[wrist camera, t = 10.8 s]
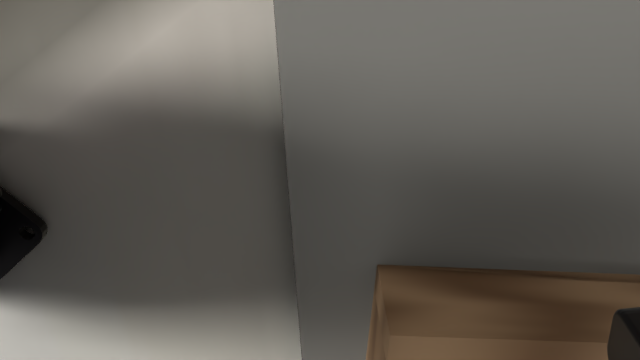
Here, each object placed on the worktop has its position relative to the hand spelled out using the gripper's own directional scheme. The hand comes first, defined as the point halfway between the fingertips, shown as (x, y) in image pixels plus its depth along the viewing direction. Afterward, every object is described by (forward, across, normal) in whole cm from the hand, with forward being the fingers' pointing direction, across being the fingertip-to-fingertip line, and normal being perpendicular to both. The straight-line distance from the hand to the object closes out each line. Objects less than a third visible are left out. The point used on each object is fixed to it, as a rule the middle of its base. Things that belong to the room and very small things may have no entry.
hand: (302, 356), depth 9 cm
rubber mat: (+10, -5, +8) cm, 13 cm away
